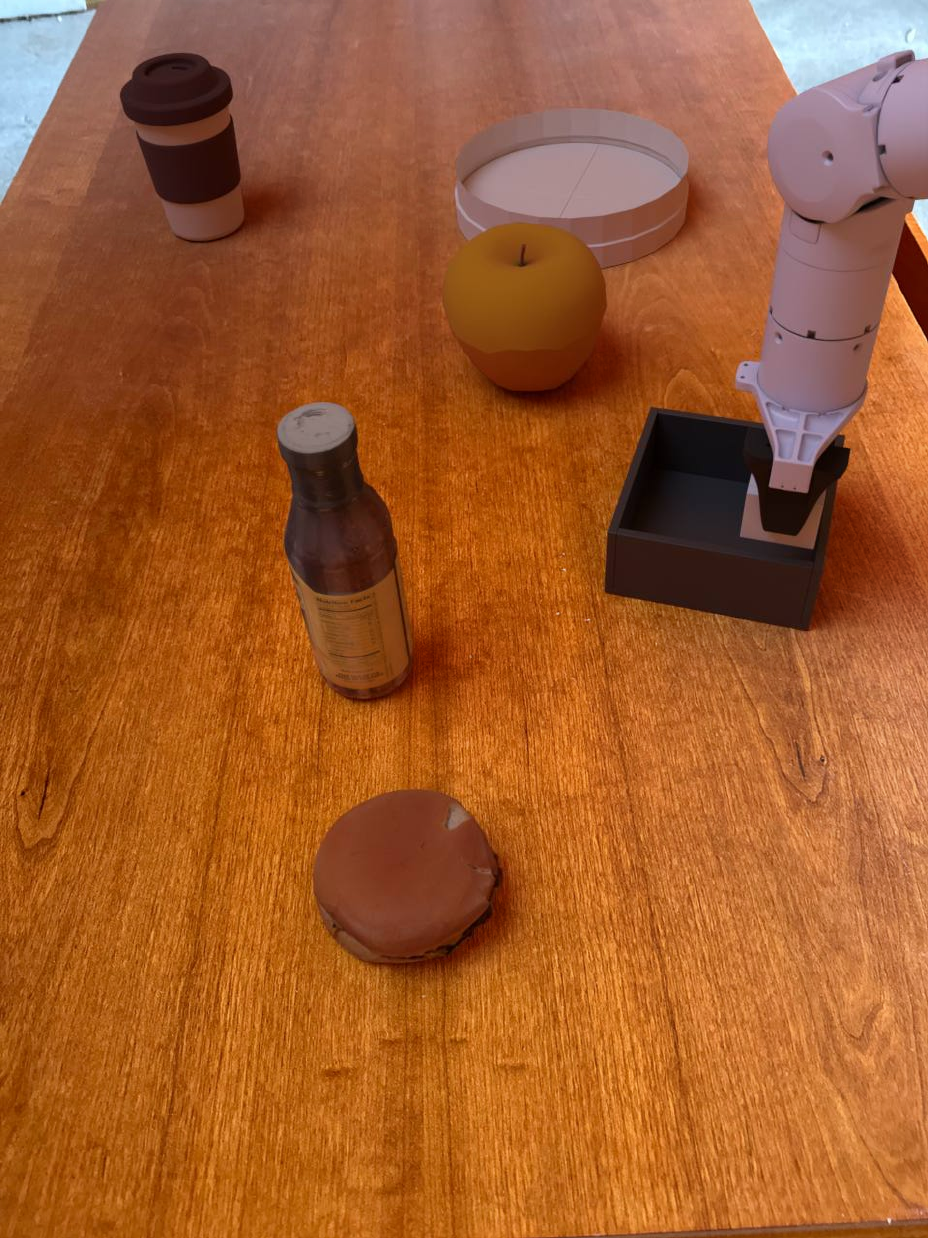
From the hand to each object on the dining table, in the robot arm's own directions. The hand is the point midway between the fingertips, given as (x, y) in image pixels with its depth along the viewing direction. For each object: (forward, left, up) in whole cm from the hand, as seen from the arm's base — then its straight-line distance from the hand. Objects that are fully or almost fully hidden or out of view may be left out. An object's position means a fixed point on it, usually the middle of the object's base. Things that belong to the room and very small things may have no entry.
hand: (785, 504), depth 70 cm
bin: (+4, -3, -7) cm, 9 cm away
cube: (0, 0, -1) cm, 1 cm away
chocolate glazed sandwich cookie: (+15, +28, -8) cm, 32 cm away
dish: (+25, -45, -8) cm, 52 cm away
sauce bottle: (+23, +14, -8) cm, 28 cm away
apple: (+22, -19, -8) cm, 30 cm away
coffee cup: (+59, -35, -8) cm, 69 cm away
